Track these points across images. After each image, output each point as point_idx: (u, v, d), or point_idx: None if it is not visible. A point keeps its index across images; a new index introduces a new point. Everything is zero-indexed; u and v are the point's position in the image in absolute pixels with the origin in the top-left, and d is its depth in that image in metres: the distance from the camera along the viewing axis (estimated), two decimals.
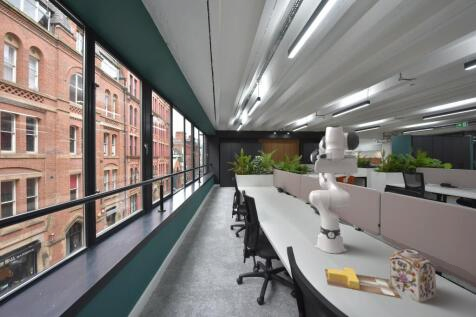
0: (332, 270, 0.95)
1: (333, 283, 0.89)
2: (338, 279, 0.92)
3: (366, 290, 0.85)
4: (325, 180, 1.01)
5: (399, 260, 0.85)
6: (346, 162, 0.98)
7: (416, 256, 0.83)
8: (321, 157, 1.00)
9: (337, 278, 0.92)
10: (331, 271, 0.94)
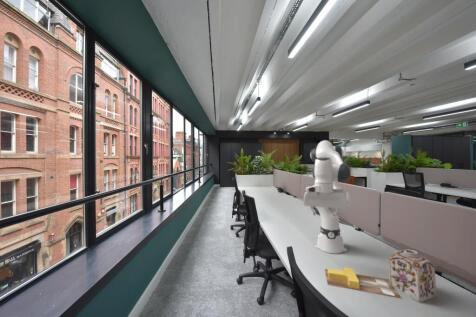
0: (332, 270, 0.95)
1: (333, 283, 0.89)
2: (338, 279, 0.92)
3: (366, 290, 0.85)
4: (314, 213, 0.99)
5: (399, 260, 0.85)
6: (334, 196, 0.96)
7: (416, 256, 0.83)
8: (310, 190, 0.98)
9: (337, 278, 0.92)
10: (331, 271, 0.94)
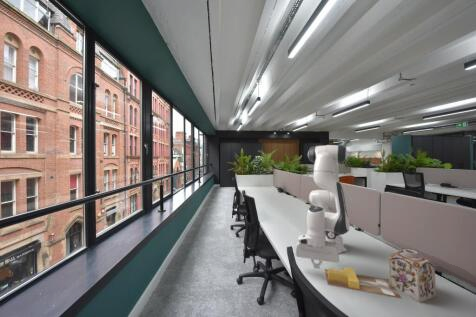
0: (332, 270, 0.95)
1: (333, 283, 0.89)
2: (338, 279, 0.92)
3: (366, 290, 0.85)
4: (314, 266, 0.96)
5: (399, 260, 0.85)
6: (327, 249, 0.93)
7: (416, 256, 0.84)
8: (302, 242, 0.96)
9: (337, 278, 0.92)
10: (331, 271, 0.94)
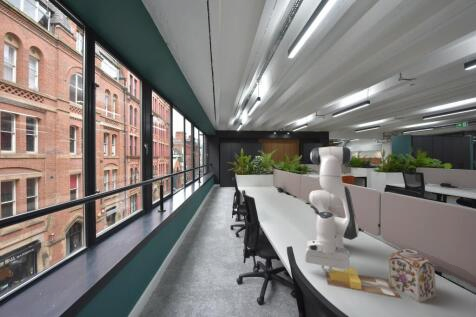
0: (334, 270, 0.95)
1: (333, 283, 0.89)
2: (340, 279, 0.91)
3: (366, 290, 0.85)
4: (325, 273, 0.95)
5: (398, 260, 0.85)
6: (337, 256, 0.92)
7: (415, 256, 0.84)
8: (311, 248, 0.95)
9: (339, 278, 0.91)
10: (333, 271, 0.94)
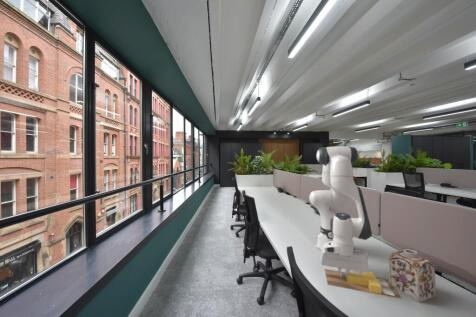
0: (351, 273, 0.92)
1: (333, 283, 0.89)
2: (358, 283, 0.89)
3: (366, 290, 0.85)
4: (342, 276, 0.92)
5: (399, 260, 0.85)
6: (355, 258, 0.90)
7: (416, 256, 0.84)
8: (328, 250, 0.92)
9: (357, 282, 0.89)
10: (350, 274, 0.91)
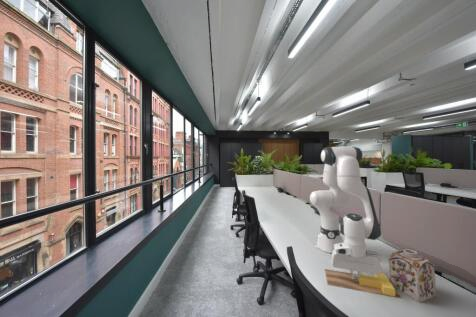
0: (363, 275, 0.90)
1: (333, 283, 0.89)
2: (370, 285, 0.87)
3: (366, 290, 0.85)
4: (354, 278, 0.90)
5: (398, 260, 0.85)
6: (367, 260, 0.88)
7: (415, 256, 0.84)
8: (340, 252, 0.91)
9: (369, 284, 0.87)
10: (362, 276, 0.90)
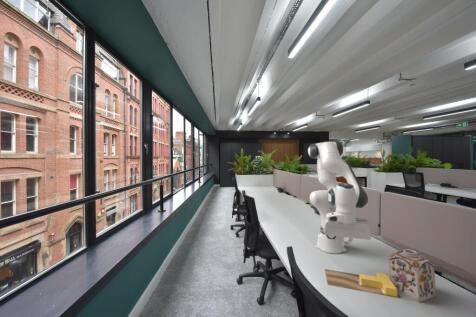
0: (364, 276, 0.90)
1: (333, 283, 0.89)
2: (372, 285, 0.87)
3: (366, 290, 0.85)
4: (344, 244, 0.93)
5: (398, 260, 0.85)
6: (358, 226, 0.90)
7: (415, 256, 0.84)
8: (331, 219, 0.92)
9: (371, 284, 0.87)
10: (364, 276, 0.90)
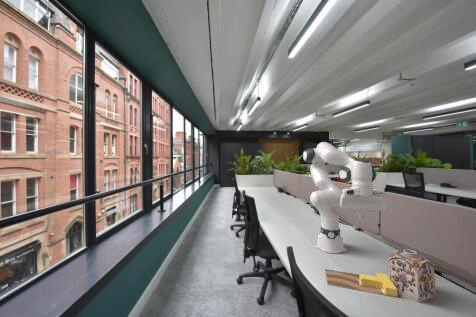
0: (364, 276, 0.90)
1: (333, 283, 0.89)
2: (372, 285, 0.87)
3: (366, 290, 0.85)
4: (361, 217, 0.96)
5: (398, 260, 0.85)
6: (374, 199, 0.94)
7: (415, 256, 0.84)
8: (348, 193, 0.96)
9: (371, 284, 0.87)
10: (364, 276, 0.90)
